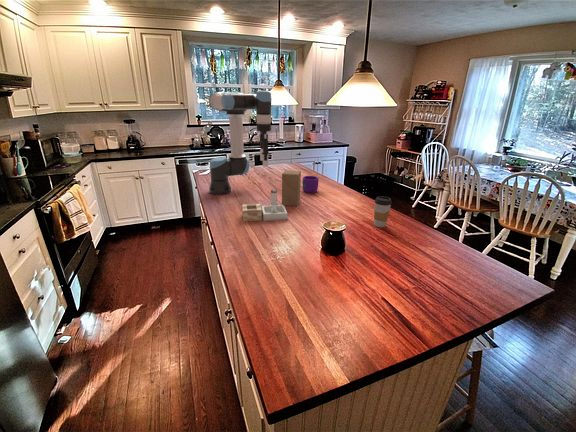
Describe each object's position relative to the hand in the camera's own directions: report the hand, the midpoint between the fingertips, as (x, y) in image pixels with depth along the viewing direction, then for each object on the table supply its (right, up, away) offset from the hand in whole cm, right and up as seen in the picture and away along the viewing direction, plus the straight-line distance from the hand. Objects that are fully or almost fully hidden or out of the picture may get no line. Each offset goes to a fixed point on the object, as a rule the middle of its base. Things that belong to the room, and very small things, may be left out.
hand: (263, 163), depth 160 cm
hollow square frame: (-7, -30, +3) cm, 31 cm away
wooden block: (+15, -21, +25) cm, 36 cm away
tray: (+5, -29, +5) cm, 30 cm away
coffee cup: (+62, -34, -4) cm, 71 cm away
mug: (+28, -10, +52) cm, 60 cm away
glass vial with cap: (+5, -28, +4) cm, 29 cm away
